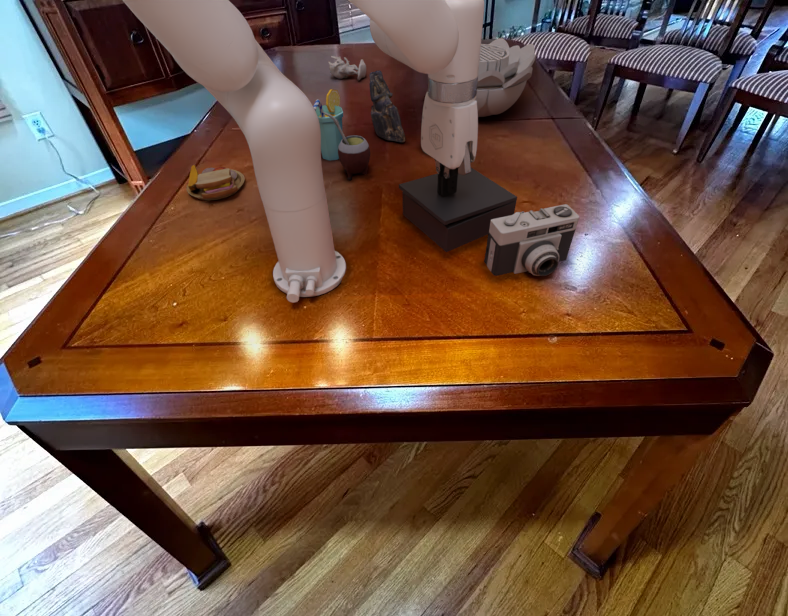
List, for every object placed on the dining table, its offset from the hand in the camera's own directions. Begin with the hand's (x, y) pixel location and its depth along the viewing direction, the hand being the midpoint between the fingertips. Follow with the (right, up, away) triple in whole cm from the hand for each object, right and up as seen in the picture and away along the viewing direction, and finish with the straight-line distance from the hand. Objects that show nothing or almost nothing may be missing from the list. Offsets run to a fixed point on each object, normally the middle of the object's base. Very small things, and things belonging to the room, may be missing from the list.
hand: (446, 193), depth 82 cm
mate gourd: (-19, +9, +21) cm, 29 cm away
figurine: (-25, +55, +66) cm, 89 cm away
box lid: (+2, 0, +2) cm, 3 cm away
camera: (+14, -15, -4) cm, 21 cm away
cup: (-25, +16, +27) cm, 40 cm away
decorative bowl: (+14, +34, +44) cm, 58 cm away
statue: (-11, +23, +34) cm, 42 cm away
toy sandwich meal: (-49, +6, +18) cm, 52 cm away
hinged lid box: (+3, -4, +6) cm, 8 cm away
